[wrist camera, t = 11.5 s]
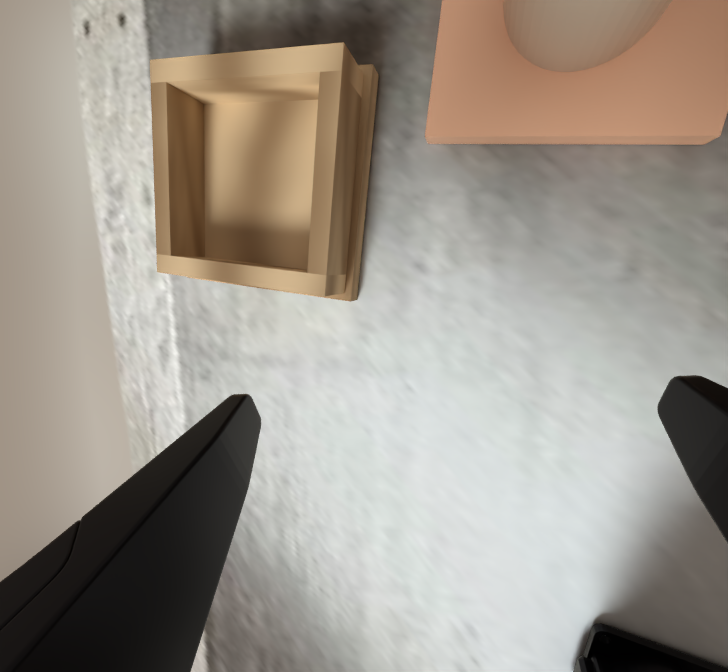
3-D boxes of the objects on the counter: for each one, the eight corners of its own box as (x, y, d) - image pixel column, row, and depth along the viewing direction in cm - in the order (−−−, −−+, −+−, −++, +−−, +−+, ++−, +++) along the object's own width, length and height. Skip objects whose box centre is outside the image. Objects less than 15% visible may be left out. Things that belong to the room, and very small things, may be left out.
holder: (378, 75, 17) (354, 29, 14) (357, 299, 20) (331, 306, 16) (197, 85, 20) (143, 51, 17) (199, 276, 23) (152, 278, 20)
